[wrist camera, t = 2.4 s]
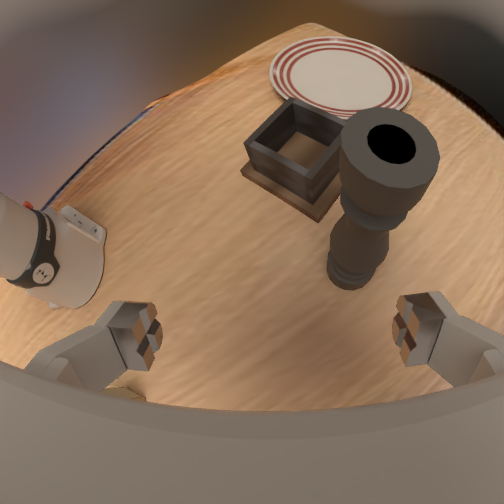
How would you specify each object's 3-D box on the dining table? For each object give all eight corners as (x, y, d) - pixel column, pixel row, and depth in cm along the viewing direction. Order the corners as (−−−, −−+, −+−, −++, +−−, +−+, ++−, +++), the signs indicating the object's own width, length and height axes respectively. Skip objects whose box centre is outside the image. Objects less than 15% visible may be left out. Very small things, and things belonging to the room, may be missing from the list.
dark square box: (242, 175, 44) (228, 144, 37) (291, 122, 46) (286, 88, 38) (318, 223, 39) (317, 194, 32) (364, 160, 41) (371, 126, 33)
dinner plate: (412, 63, 46) (414, 52, 43) (403, 149, 40) (407, 136, 37) (295, 40, 55) (294, 29, 51) (250, 112, 49) (245, 100, 46)
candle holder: (333, 239, 38) (344, 95, 15) (377, 250, 36) (441, 119, 13) (321, 283, 37) (325, 176, 14) (366, 295, 35) (443, 207, 12)
